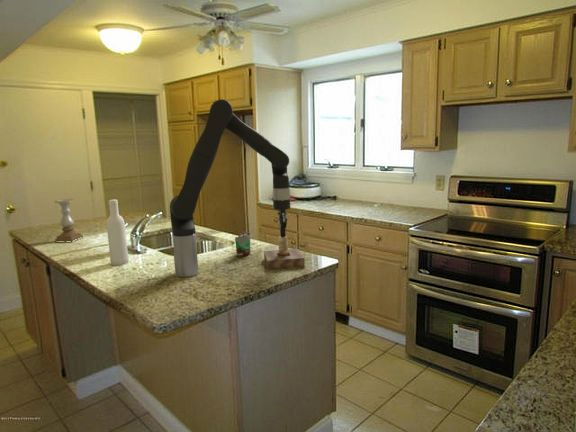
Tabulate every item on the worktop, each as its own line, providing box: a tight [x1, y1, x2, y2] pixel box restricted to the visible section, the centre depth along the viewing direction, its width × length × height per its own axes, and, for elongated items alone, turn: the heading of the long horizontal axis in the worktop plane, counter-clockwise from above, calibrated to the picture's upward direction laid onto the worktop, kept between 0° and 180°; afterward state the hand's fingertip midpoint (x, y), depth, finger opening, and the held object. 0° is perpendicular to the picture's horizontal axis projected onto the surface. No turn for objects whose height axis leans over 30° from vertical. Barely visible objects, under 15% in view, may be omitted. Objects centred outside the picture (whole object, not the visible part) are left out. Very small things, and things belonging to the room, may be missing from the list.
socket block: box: [263, 248, 305, 271], centre depth 186 cm, size 16×16×4 cm
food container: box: [234, 231, 253, 258], centre depth 202 cm, size 12×6×10 cm, turn 168°
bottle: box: [106, 198, 129, 266], centre depth 191 cm, size 8×8×30 cm
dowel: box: [277, 235, 289, 256], centre depth 185 cm, size 4×4×12 cm
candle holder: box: [53, 198, 84, 242], centre depth 242 cm, size 11×11×24 cm
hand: (282, 236), depth 184 cm, fingers closed
